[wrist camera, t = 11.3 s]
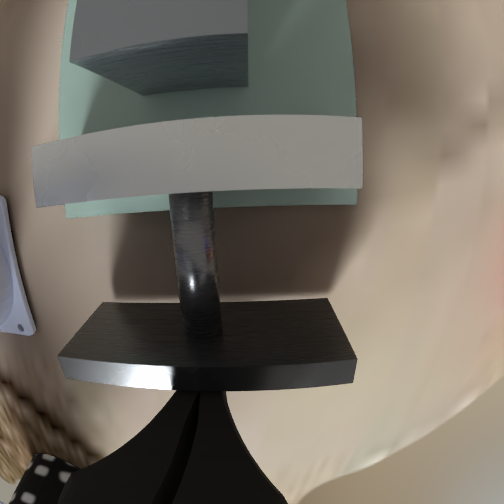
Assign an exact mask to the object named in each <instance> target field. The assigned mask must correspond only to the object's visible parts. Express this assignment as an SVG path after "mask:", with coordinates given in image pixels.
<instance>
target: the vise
mask: <svg viewBox="0 0 504 504" xmlns="http://www.w3.org/2000/svg"><path fill="white" fill-rule="evenodd" d="M76 3H77V0H69V1H68V7H67V13H66V20H65V27H64V35H63V44H62V54H61V67H60V86H59V140H61V139H65V138H70V137H74V136H79V135H84V134H89V133H94V132H99V131H104V130H110V129H116V128H122V127H128V126H134V125H141V124H148V123H156V122H164V121H173V120H182V119H193V118H205V117H220V116H238V115H328V116H346V117H357V113H356V93H355V78H354V65H353V54H352V44H351V35H350V26H349V18H348V11H347V4H346V0H247V16H248V76H249V87H231V88H213V89H199V90H188V91H178V92H169V93H161V94H154V95H147V96H142V95H140V94H138V93H136V92H134V91H132V90H130V89H128V88H126V87H124V86H121V85H119V84H117V83H115V82H113V81H111V80H109V79H107V78H104V77H102V76H100V75H98V74H96V73H93V72H91V71H89V70H87V69H84V68H82V67H80V66H77V65H75V64H73V63H70V62H69V58H70V47H71V38H72V30H73V22H74V16H75V9H76ZM212 193H213V208H223V207H248V206H282V205H357V189H355V188H294V189H252V190H226V191H212ZM166 210H170V207H169V194H161V195H148V196H136V197H125V198H115V199H105V200H96V201H87V202H78V203H70V204H65V211H66V218H67V219H68V218H78V217H89V216H100V215H111V214H124V213H137V212H151V211H166Z"/></svg>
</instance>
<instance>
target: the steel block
mask: <svg viewBox="0 0 504 504" xmlns="http://www.w3.org/2000/svg"><path fill="white" fill-rule="evenodd" d="M69 62H70V63H73V64H75V65H77V66H80V67H82V68H84V69H87V70H89V71H91V72H93V73H96V74H98V75H100V76H102V77H104V78H107V79H109V80H111V81H113V82H115V83H117V84H119V85H121V86H124V87H126V88H128V89H130V90H132V91H134V92H136V93H138V94H140V95H142V96H147V95H154V94H161V93H169V92H178V91H188V90H199V89H213V88H231V87H249V76H248V16H247V0H77V3H76V9H75V16H74V22H73V30H72V38H71V47H70V58H69Z"/></svg>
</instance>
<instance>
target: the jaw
mask: <svg viewBox="0 0 504 504" xmlns="http://www.w3.org/2000/svg"><path fill="white" fill-rule="evenodd" d="M31 157H32V172H33V183H34V193H35V201H36V208H40V207H47V206H54V205H62V204H70V203H78V202H87V201H96V200H105V199H115V198H125V197H136V196H148V195H161V194H169V207H170V219H171V229H172V239H173V249H174V258H175V267H176V275H177V283H178V291H179V298H180V303H115V302H103V303H102V304H101V305H100V306H99V307H98V308H97V310H96V311H95V312H94V313H93V314H92V315H91V316H90V318H89V319H88V320H87V321H86V322H85V323H84V325H83V326H82V327H81V328H80V329H79V330H78V332H77V333H76V334H75V335H74V336H73V338H72V339H71V340H70V341H69V342H68V344H67V345H66V346H65V347H64V349H63V350H62V351H61V352H60V353H59V355H58V356H57V357H58V359H59V362H60V364H61V367H62V369H63V372H64V374H65V377H66V378H68V379H74V380H80V381H87V382H94V383H102V384H110V385H119V386H128V387H139V388H151V389H167V390H188V391H260V390H281V389H297V388H309V387H320V386H330V385H339V384H347V383H353V380H354V374H355V369H356V364H357V357H356V355H355V353H354V351H353V349H352V347H351V345H350V343H349V341H348V339H347V336H346V334H345V332H344V330H343V328H342V326H341V324H340V322H339V320H338V318H337V316H336V314H335V312H334V310H333V308H332V306H331V304H330V302H329V300H328V298H318V299H300V300H278V301H251V302H220V296H219V284H218V270H217V257H216V242H215V227H214V211H213V193H212V191H226V190H252V189H294V188H355V189H362V185H363V141H362V118H360V117H346V116H328V115H238V116H220V117H205V118H193V119H182V120H173V121H164V122H156V123H148V124H141V125H134V126H128V127H122V128H116V129H110V130H104V131H99V132H94V133H89V134H84V135H79V136H74V137H70V138H65V139H61V140H57V141H53V142H49V143H45V144H41V145H37V146H33V147H31Z"/></svg>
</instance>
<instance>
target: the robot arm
mask: <svg viewBox="0 0 504 504" xmlns="http://www.w3.org/2000/svg"><path fill="white" fill-rule="evenodd" d="M22 326H23V327H22ZM0 331H1V332H7V333H13V334H20V335H26V336H32V335H33V334H34V333H35V332H36V327H35V324H34V321H33V318H32V315H31V311H30V308H29V305H28V302H27V298H26V295H25V291H24V287H23V284H22V280H21V276H20V272H19V268H18V263H17V259H16V254H15V250H14V245H13V240H12V234H11V228H10V222H9V216H8V209H7V203H6V200H5V198H4V197H3V196H1V195H0ZM0 504H4V503H2V502H1V501H0ZM58 504H288V503H287V501H286V500H285V498H284V496H283V495H282V494H281V492H280V491H279V490H278V489H277V488H276V487H275V486H274V485H273V484H272V483H271V481H270V480H269V479H268V478H267V477H266V475H265V474H264V473H263V471H262V470H261V469H260V467H259V466H258V464H257V463H256V462H255V460H254V459H253V457H252V456H251V454H250V452H249V451H248V449H247V447H246V446H245V444H244V442H243V440H242V438H241V436H240V434H239V432H238V430H237V428H236V425H235V423H234V421H233V418H232V415H231V413H230V410H229V406H228V403H227V396H226V391H188V390H176V392H175V393H174V394H173V396H172V397H171V398H170V400H169V401H168V402H167V403H166V405H165V406H164V407H163V408H162V409H161V411H160V412H159V413H158V414H157V415H156V416H155V417H154V418H153V419H152V421H151V422H150V423H149V424H148V425H147V426H146V427H144V428H143V429H142V430H141V431H140V432H139V433H138V434H137V435H136V436H134V437H133V438H132V439H131V440H129V441H128V442H127V443H126V444H124V445H123V446H122V447H120V448H119V449H118V450H116V451H115V452H113V453H111V454H110V455H108V456H106V457H105V458H103V459H101V460H100V461H98V462H96V463H94V464H92V465H90V466H88V467H85V468H83V469H81V470H79V471H76V472H74V473H71V475H70V476H69V478H68V480H67V482H66V484H65V486H64V488H63V491H62V493H61V495H60V498H59V500H58Z"/></svg>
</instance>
